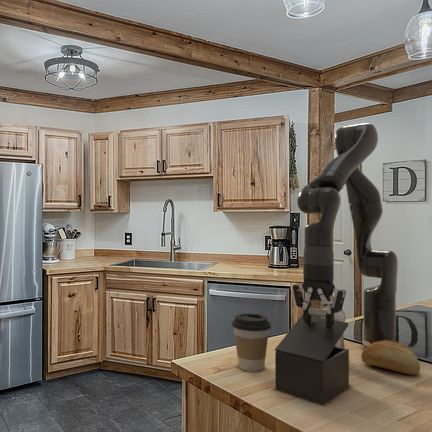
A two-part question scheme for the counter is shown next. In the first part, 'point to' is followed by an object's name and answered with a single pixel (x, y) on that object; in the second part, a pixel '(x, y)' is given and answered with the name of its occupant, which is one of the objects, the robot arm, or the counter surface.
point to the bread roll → (391, 356)
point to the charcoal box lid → (312, 337)
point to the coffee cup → (251, 340)
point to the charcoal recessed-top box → (313, 375)
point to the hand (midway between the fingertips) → (318, 325)
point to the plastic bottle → (338, 317)
